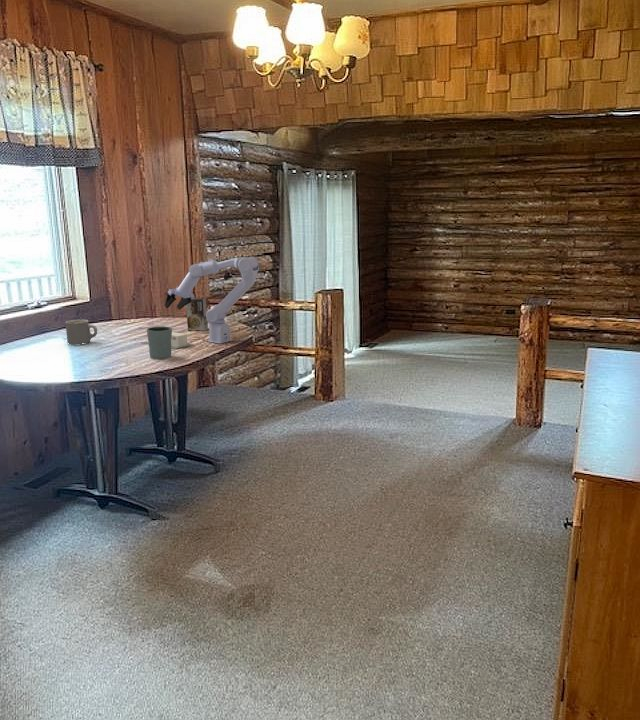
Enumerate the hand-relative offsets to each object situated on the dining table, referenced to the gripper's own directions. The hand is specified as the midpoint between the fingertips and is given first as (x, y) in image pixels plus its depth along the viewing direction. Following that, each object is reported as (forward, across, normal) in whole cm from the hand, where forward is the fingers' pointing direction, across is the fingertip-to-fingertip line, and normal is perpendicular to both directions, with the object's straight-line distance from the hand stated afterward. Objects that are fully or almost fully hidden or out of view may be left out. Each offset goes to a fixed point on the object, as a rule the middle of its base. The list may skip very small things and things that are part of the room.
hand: (172, 307), depth 297 cm
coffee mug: (+36, +24, -11) cm, 44 cm away
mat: (+10, +6, +15) cm, 19 cm away
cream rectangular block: (+6, +6, +20) cm, 22 cm away
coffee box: (+12, -26, 0) cm, 29 cm away
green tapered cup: (+3, +25, +32) cm, 41 cm away
